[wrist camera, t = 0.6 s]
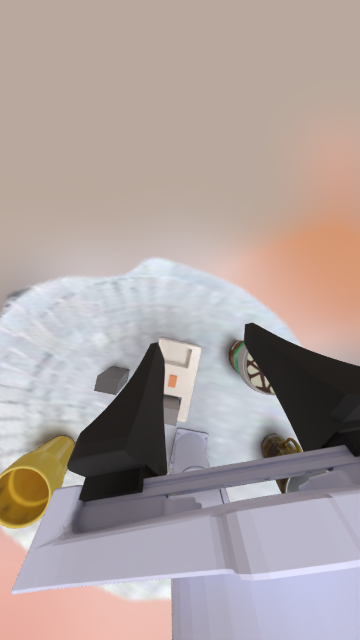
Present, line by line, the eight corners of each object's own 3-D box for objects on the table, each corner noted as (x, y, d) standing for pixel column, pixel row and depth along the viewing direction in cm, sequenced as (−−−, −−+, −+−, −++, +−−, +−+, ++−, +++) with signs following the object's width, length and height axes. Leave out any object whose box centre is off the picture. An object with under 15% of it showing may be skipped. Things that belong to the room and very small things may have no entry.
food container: (215, 349, 37) (230, 357, 27) (234, 335, 38) (256, 339, 28) (241, 388, 37) (266, 411, 27) (260, 374, 38) (291, 392, 28)
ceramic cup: (295, 462, 37) (340, 512, 27) (258, 471, 37) (291, 525, 27) (285, 411, 38) (326, 442, 28) (249, 419, 37) (277, 454, 27)
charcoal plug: (175, 405, 35) (175, 425, 28) (157, 402, 35) (153, 421, 28) (177, 393, 35) (179, 410, 28) (160, 390, 35) (157, 406, 28)
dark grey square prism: (126, 381, 36) (115, 395, 29) (109, 378, 36) (93, 390, 29) (129, 369, 36) (119, 380, 29) (112, 366, 36) (97, 375, 29)
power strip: (184, 411, 36) (186, 425, 31) (145, 404, 36) (141, 416, 31) (198, 345, 37) (202, 348, 32) (160, 337, 37) (159, 339, 32)
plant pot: (93, 445, 35) (63, 491, 25) (64, 481, 34) (21, 543, 24) (60, 418, 35) (16, 454, 25) (30, 453, 34) (-28, 505, 24)
